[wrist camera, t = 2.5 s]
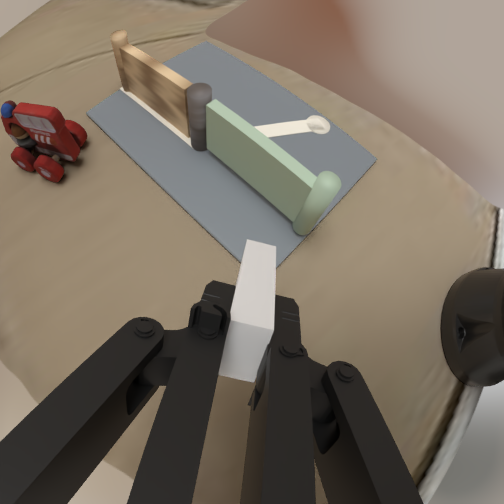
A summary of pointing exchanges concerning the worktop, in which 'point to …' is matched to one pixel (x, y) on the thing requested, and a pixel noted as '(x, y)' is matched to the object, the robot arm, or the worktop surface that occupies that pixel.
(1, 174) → the worktop surface
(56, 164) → the toy fire truck
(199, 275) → the worktop surface
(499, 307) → the robot arm
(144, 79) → the fixed fence panel
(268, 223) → the card
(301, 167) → the hinged fence panel
